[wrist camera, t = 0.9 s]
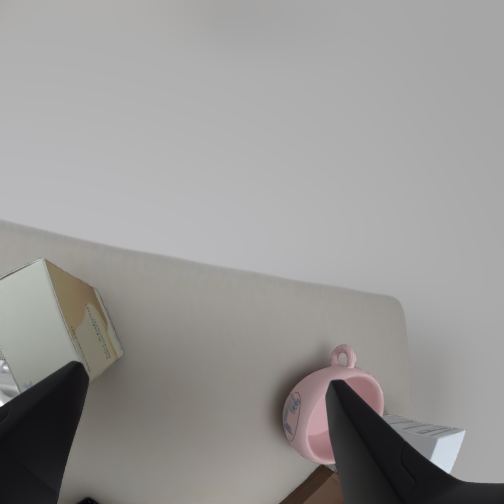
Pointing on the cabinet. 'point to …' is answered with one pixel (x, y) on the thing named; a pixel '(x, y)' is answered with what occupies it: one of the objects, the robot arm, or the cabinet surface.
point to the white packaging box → (430, 439)
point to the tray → (318, 489)
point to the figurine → (6, 384)
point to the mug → (324, 406)
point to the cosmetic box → (52, 324)
